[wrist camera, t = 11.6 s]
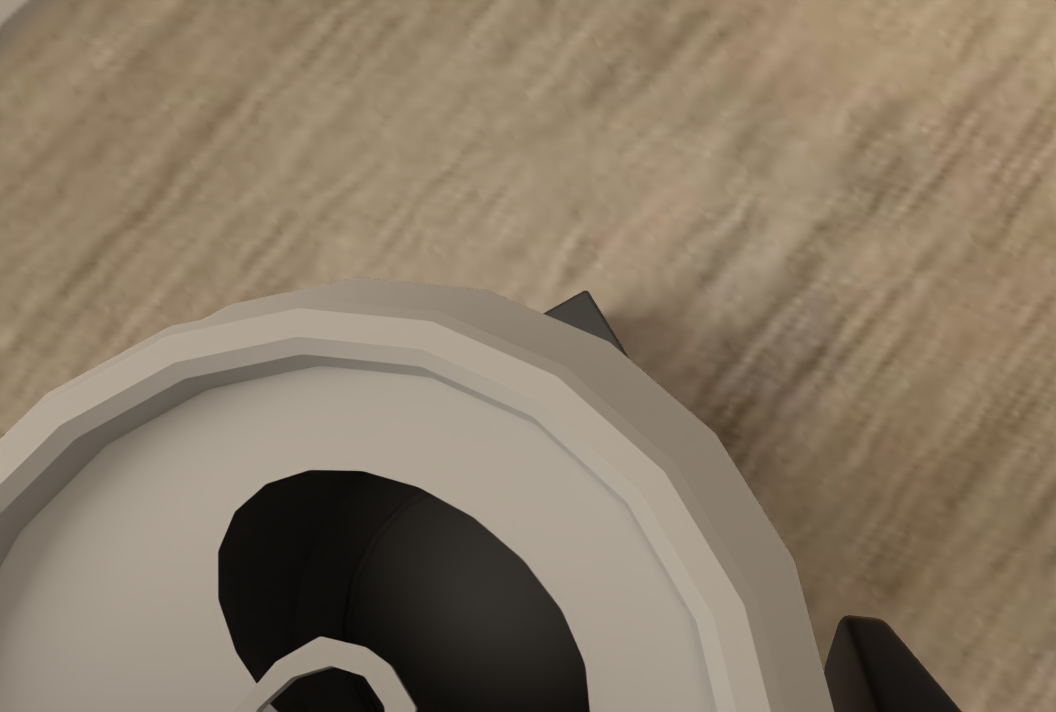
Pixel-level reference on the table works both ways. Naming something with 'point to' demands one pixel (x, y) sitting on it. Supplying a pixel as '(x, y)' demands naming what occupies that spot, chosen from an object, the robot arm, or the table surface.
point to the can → (387, 524)
